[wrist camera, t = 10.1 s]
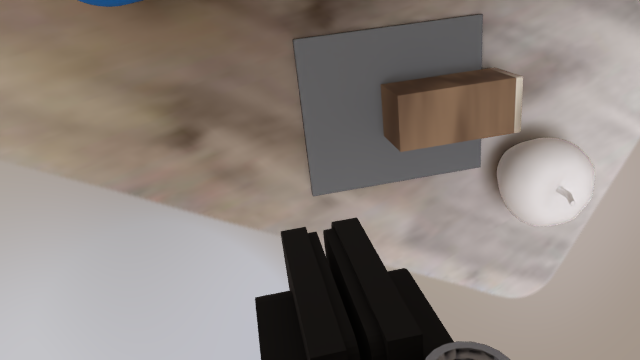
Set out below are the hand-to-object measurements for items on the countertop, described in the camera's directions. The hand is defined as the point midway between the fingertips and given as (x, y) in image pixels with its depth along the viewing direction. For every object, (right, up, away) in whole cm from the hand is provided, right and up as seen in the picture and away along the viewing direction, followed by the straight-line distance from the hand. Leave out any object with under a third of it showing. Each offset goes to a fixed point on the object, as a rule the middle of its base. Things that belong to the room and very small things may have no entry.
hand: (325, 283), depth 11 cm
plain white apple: (+17, +4, +32) cm, 36 cm away
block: (+5, +7, +25) cm, 27 cm away
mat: (+6, +8, +28) cm, 29 cm away
